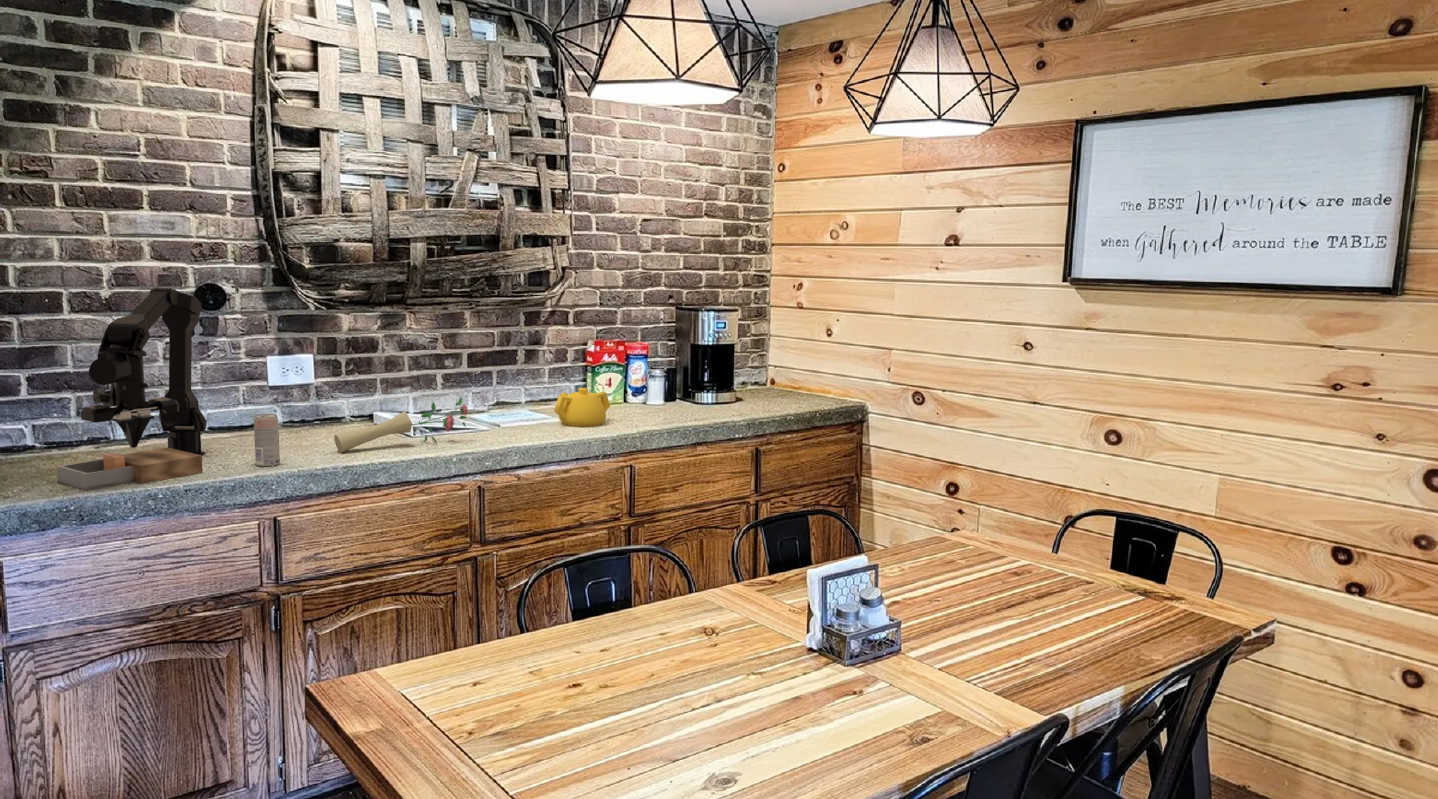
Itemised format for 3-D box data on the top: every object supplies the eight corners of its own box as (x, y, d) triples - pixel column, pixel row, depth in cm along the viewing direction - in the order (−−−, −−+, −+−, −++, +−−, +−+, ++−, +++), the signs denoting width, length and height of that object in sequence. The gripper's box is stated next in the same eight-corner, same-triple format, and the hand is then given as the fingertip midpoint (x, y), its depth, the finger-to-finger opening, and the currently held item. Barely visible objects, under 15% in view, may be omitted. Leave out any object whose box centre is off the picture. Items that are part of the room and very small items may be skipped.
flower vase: (343, 477, 263) (464, 435, 284) (356, 473, 253) (480, 430, 274) (327, 435, 263) (450, 396, 283) (340, 429, 253) (465, 389, 273)
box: (105, 473, 229) (104, 458, 228) (134, 481, 223) (133, 466, 222) (57, 481, 220) (56, 466, 220) (86, 490, 214) (85, 474, 214)
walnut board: (168, 463, 240) (167, 447, 240) (202, 472, 233) (201, 455, 232) (107, 474, 228) (106, 457, 228) (141, 483, 221) (140, 465, 221)
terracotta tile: (112, 453, 225) (103, 454, 223) (124, 456, 222) (115, 457, 221) (113, 474, 226) (104, 476, 224) (125, 478, 223) (116, 479, 221)
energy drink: (276, 461, 247) (274, 413, 245) (282, 465, 242) (280, 416, 241) (253, 463, 243) (251, 414, 241) (258, 467, 239) (256, 418, 237)
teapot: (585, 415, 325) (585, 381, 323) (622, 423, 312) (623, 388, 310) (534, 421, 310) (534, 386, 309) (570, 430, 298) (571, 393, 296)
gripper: (151, 371, 235) (154, 436, 238) (65, 379, 219) (70, 449, 222) (178, 375, 230) (181, 442, 232) (92, 384, 214) (97, 456, 216)
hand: (133, 447), depth 226 cm, fingers closed
